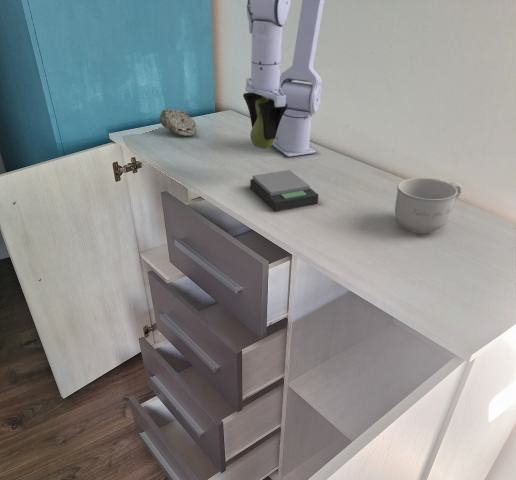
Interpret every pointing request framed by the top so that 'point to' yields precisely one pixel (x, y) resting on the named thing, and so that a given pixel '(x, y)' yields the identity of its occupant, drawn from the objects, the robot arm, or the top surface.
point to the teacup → (425, 203)
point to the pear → (260, 129)
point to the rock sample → (178, 122)
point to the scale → (283, 190)
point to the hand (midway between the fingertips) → (263, 133)
